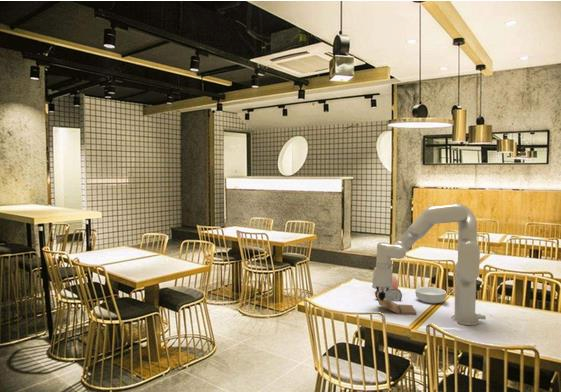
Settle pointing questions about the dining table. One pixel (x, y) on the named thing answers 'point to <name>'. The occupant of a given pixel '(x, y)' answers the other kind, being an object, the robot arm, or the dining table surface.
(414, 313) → the floor board
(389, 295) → the tin
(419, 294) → the cereal bowl
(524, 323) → the dining table surface
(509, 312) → the dining table surface
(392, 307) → the panel
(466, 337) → the dining table surface
